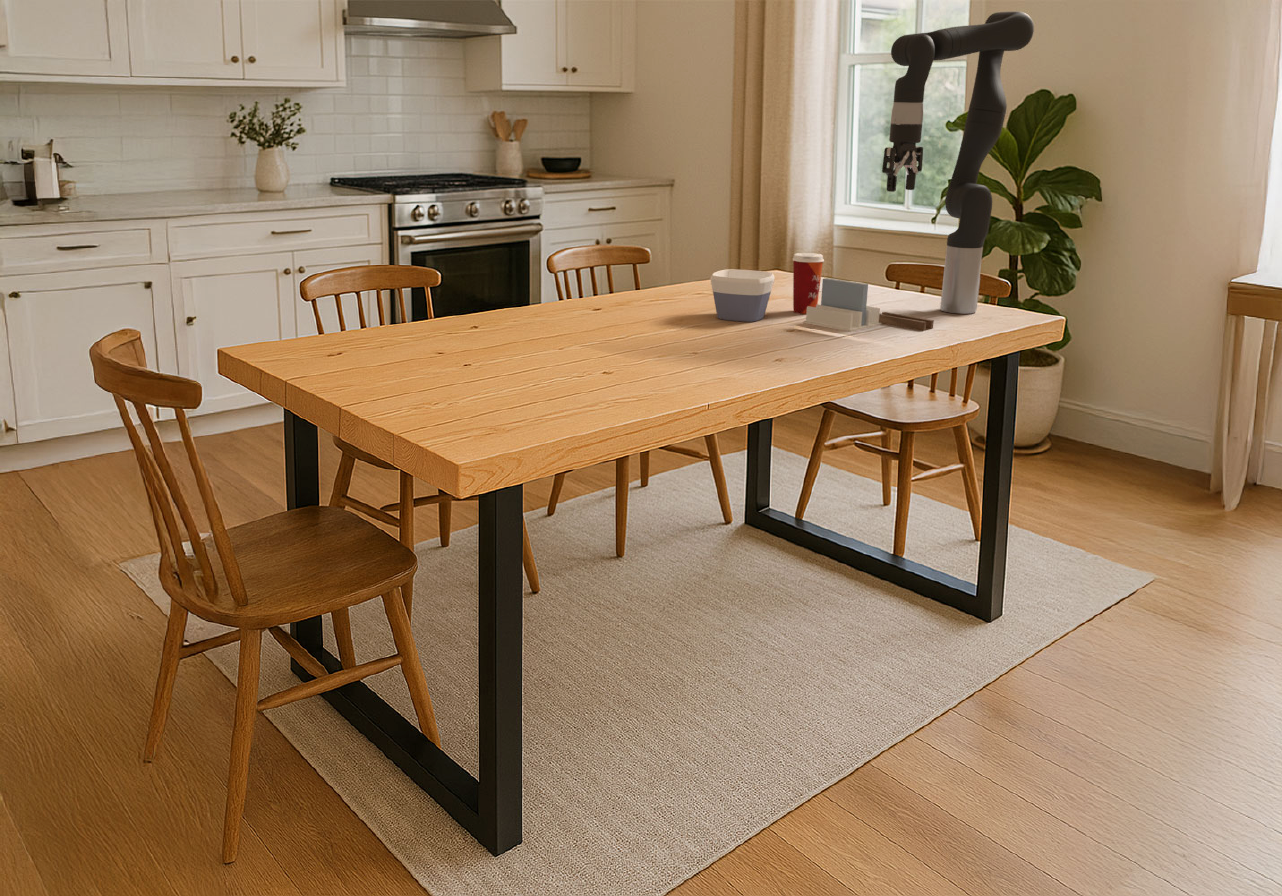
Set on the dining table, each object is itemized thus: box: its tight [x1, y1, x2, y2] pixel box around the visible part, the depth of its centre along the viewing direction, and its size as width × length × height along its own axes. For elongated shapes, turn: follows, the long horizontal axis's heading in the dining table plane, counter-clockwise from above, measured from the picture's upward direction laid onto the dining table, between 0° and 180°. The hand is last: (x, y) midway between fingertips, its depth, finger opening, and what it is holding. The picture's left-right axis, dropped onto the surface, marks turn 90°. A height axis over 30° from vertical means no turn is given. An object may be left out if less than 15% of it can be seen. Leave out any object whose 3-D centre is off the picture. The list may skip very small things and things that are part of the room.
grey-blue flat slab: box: [820, 277, 869, 326], centre depth 266 cm, size 2×12×10 cm, turn 45°
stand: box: [879, 311, 935, 332], centre depth 267 cm, size 5×14×3 cm, turn 45°
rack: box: [802, 304, 882, 332], centre depth 267 cm, size 13×14×5 cm
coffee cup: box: [791, 252, 825, 315], centre depth 284 cm, size 8×8×15 cm
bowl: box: [709, 268, 776, 323], centre depth 275 cm, size 15×15×11 cm
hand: (900, 190), depth 269 cm, fingers open, 8 cm apart
